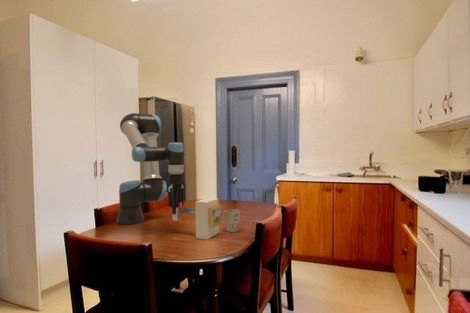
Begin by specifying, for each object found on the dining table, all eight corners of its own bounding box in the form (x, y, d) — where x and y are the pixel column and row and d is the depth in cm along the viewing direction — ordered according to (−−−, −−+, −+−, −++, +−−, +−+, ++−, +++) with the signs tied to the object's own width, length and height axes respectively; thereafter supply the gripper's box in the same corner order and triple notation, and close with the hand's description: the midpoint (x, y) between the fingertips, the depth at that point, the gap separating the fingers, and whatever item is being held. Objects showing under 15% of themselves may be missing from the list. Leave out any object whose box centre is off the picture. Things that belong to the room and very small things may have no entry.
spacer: (208, 227, 136) (208, 207, 136) (217, 222, 144) (217, 204, 144) (212, 227, 135) (212, 208, 135) (221, 223, 143) (220, 204, 143)
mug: (228, 233, 144) (228, 213, 144) (218, 227, 155) (218, 208, 155) (243, 231, 148) (243, 211, 148) (232, 225, 159) (232, 207, 159)
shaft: (170, 218, 148) (170, 202, 148) (174, 216, 150) (174, 201, 150) (219, 222, 137) (219, 205, 137) (221, 221, 140) (221, 204, 140)
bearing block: (195, 238, 137) (195, 201, 137) (208, 231, 148) (207, 197, 148) (207, 239, 135) (207, 202, 134) (218, 232, 146) (218, 198, 145)
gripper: (173, 174, 139) (174, 224, 140) (190, 172, 153) (191, 217, 154) (160, 174, 142) (161, 222, 143) (178, 172, 156) (178, 216, 157)
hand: (176, 219), depth 148 cm, fingers closed on shaft, 2 cm apart
